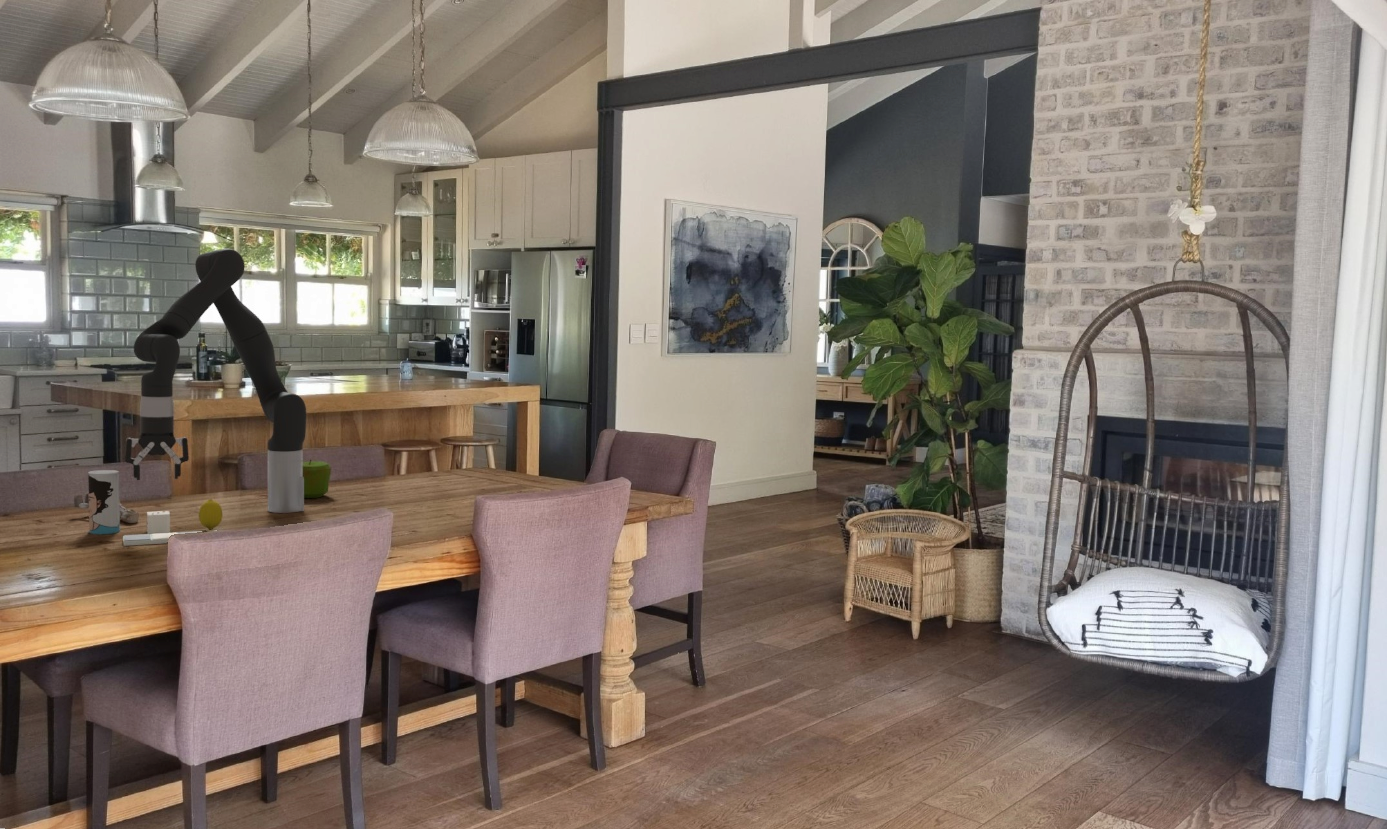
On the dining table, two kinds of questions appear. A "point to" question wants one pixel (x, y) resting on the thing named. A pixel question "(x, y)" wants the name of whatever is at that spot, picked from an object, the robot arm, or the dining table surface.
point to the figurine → (124, 514)
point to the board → (150, 538)
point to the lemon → (210, 514)
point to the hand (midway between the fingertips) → (157, 479)
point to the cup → (104, 502)
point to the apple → (316, 478)
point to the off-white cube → (158, 522)
